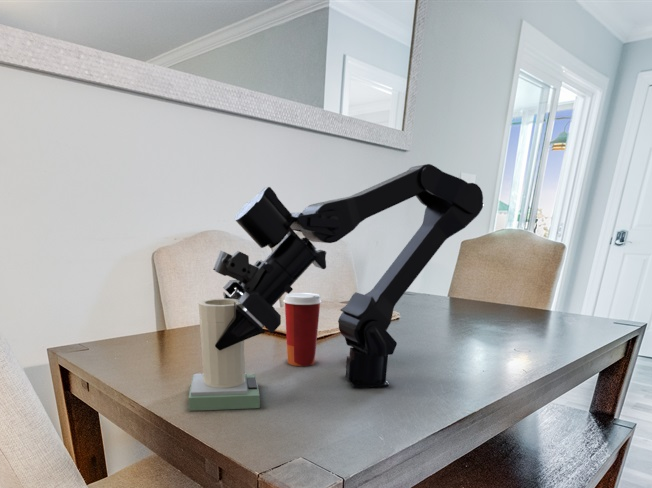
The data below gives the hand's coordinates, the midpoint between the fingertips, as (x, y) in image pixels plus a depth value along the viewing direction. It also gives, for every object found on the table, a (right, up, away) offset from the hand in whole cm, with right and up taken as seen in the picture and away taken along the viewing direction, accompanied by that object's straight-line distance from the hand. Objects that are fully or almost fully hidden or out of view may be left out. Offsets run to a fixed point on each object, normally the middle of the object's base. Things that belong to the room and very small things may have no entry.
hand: (214, 342), depth 73 cm
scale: (+1, -9, +4) cm, 10 cm away
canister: (+1, -6, +3) cm, 7 cm away
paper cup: (+15, -1, +23) cm, 28 cm away
